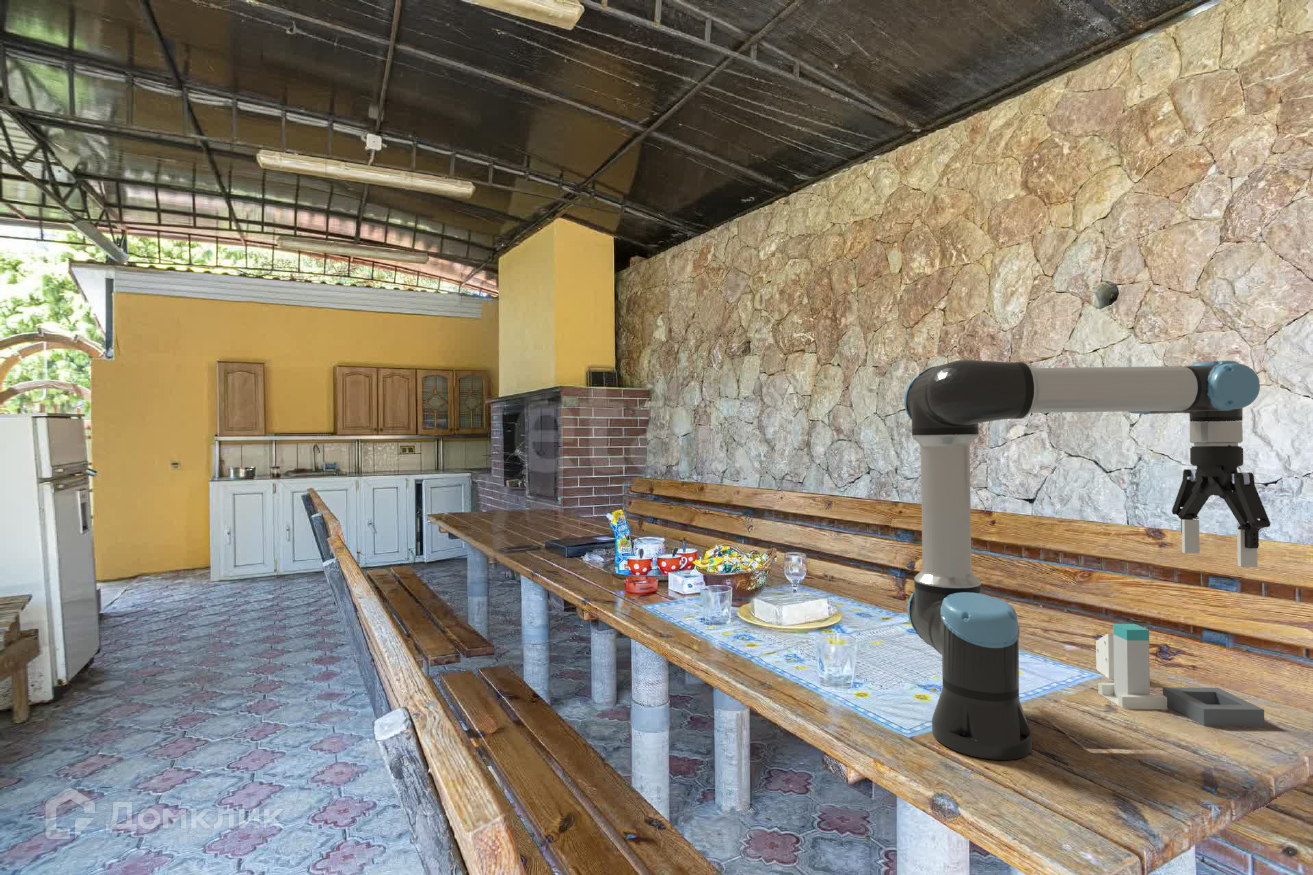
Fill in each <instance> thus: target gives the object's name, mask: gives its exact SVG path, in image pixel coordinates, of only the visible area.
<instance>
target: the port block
mask: <svg viewBox="0 0 1313 875" xmlns="http://www.w3.org/2000/svg"><path fill="white" fill-rule="evenodd" d="M1162 695H1164V696H1165V697H1167V707H1169V708H1172V709H1173V710H1175V711H1176V712H1178V713H1180V714H1182V715H1184V716H1186V717H1187V718H1189V719H1190V720H1193V721H1194V722H1196V723H1198V724H1200V725H1202V726H1203V727H1250V728H1251V727H1254V728H1256V727H1259V728H1261V727H1262V728H1264V727H1265V709H1264V708H1261V707H1259V706H1257V705H1256V704H1254V703H1252V702H1249V701H1247V700H1245V699H1242V698H1240V697H1239V696H1236V695H1234V694H1232V693H1229V692H1227V691H1225V690H1224V689H1221V688H1220V687H1187V686H1186V687H1179V686H1176V687H1175V686H1174V687H1173V686H1172V687H1170V686H1169V687H1168V686H1167V687H1162Z"/></svg>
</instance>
